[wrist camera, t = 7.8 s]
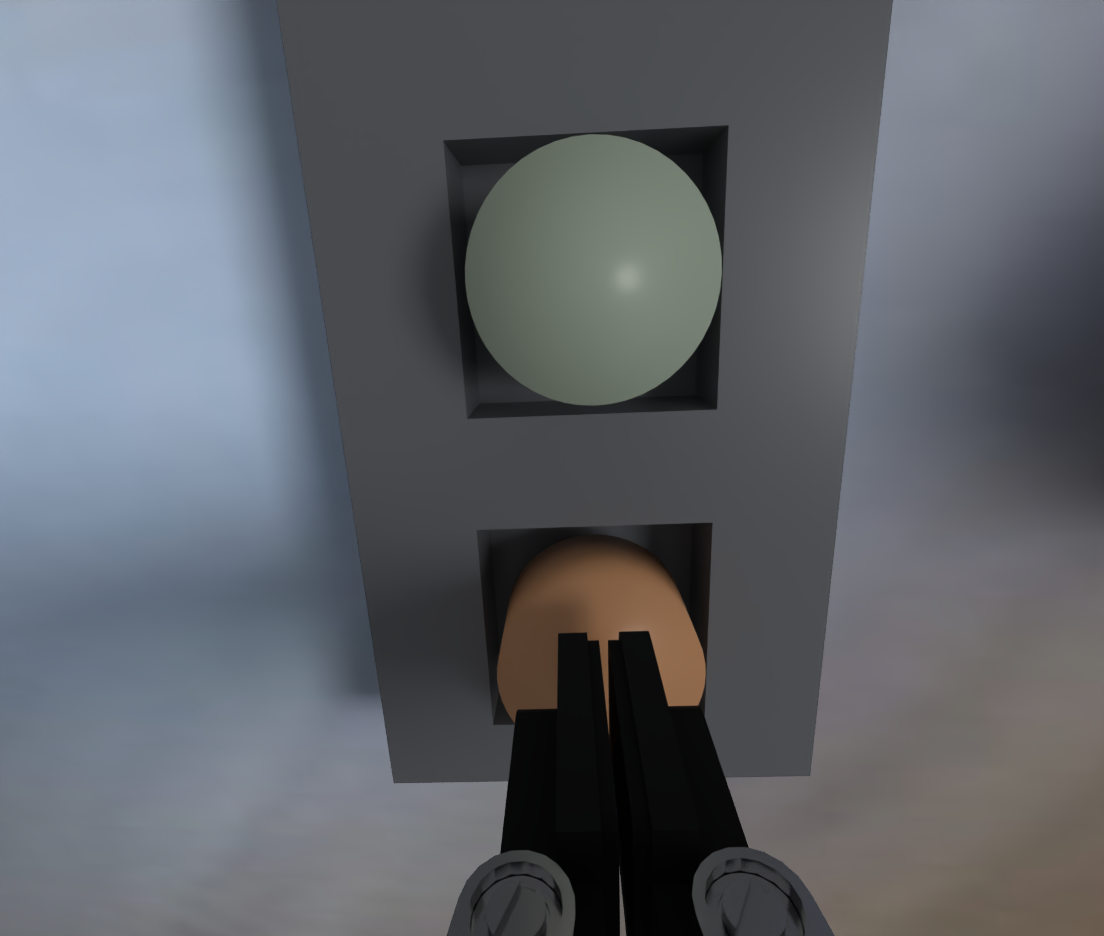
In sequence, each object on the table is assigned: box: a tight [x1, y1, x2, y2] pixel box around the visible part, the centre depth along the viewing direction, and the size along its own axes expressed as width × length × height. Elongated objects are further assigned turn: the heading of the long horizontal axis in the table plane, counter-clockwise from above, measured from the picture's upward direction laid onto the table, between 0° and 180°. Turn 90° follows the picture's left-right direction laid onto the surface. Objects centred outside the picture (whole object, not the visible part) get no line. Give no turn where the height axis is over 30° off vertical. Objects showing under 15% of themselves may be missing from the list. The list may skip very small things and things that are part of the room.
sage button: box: [465, 134, 722, 406], centre depth 11 cm, size 4×4×2 cm
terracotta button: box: [497, 535, 706, 730], centre depth 13 cm, size 4×4×2 cm
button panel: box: [277, 0, 893, 783], centre depth 13 cm, size 25×11×4 cm, turn 2°
